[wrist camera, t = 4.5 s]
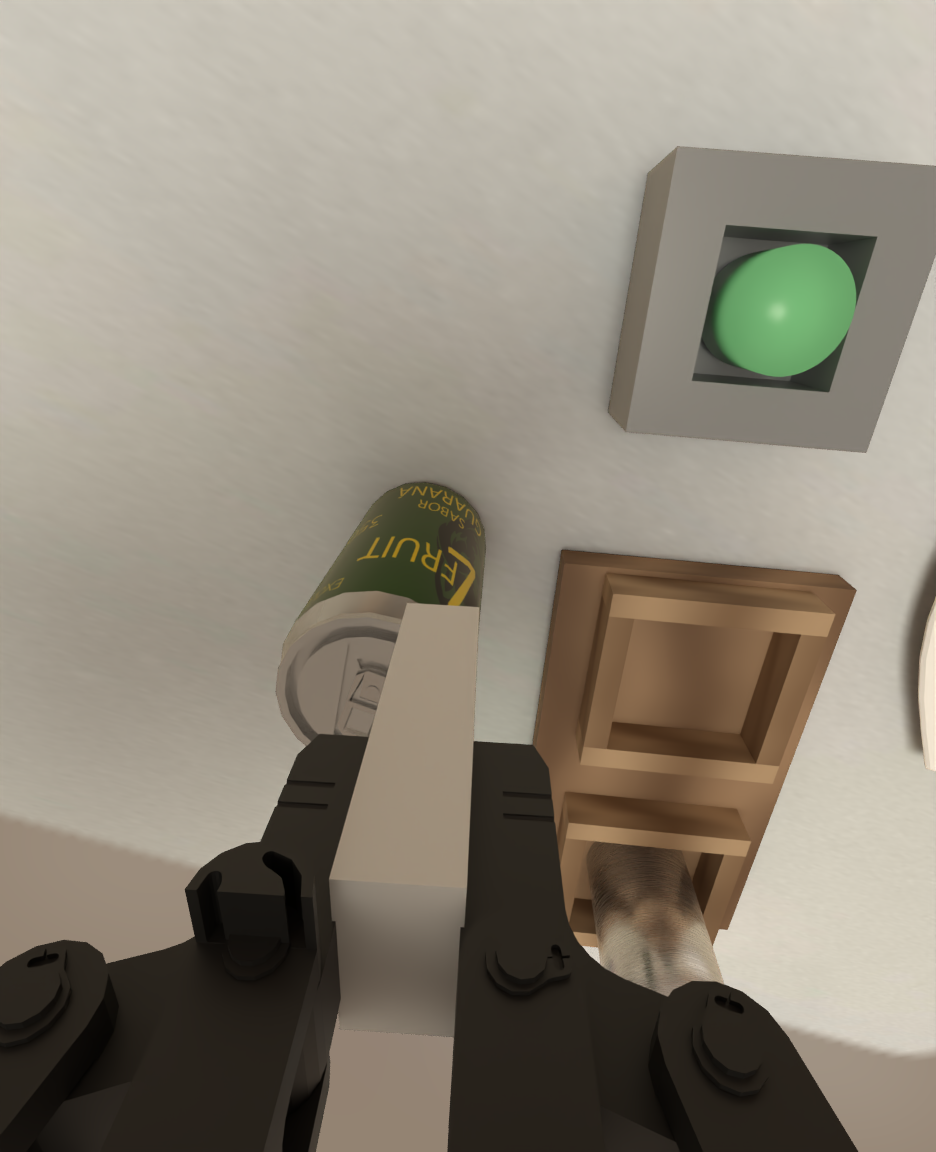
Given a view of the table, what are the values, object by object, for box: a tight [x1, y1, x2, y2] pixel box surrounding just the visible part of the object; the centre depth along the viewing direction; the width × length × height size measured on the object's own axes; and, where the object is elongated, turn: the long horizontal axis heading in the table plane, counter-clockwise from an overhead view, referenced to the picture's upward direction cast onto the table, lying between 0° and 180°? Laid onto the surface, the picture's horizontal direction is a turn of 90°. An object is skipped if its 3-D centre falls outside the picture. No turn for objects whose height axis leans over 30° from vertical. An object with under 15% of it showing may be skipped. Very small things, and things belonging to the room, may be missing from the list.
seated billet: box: [586, 841, 724, 996], centre depth 26 cm, size 5×5×12 cm
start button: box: [702, 244, 856, 377], centre depth 19 cm, size 4×4×3 cm
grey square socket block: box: [608, 146, 936, 453], centre depth 20 cm, size 8×8×4 cm
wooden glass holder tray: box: [532, 550, 857, 947], centre depth 29 cm, size 12×21×4 cm, turn 176°
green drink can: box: [276, 482, 486, 746], centre depth 21 cm, size 5×5×12 cm
